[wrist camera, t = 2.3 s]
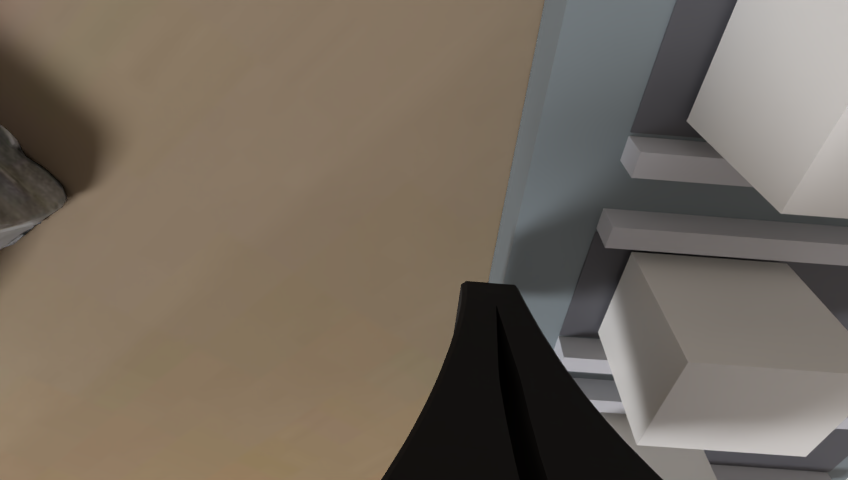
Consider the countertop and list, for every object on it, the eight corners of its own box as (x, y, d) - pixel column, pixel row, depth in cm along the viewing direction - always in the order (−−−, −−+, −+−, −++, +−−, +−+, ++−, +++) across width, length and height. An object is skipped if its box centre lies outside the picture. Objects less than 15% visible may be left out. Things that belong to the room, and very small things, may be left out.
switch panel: (867, 450, 21) (918, 518, 19) (460, 422, 21) (462, 487, 18) (1529, -114, 9) (1885, -112, 7) (584, -197, 9) (633, -225, 7)
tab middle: (733, 341, 14) (805, 457, 11) (597, 332, 14) (637, 445, 11) (786, 263, 12) (889, 376, 9) (631, 251, 12) (687, 362, 9)
